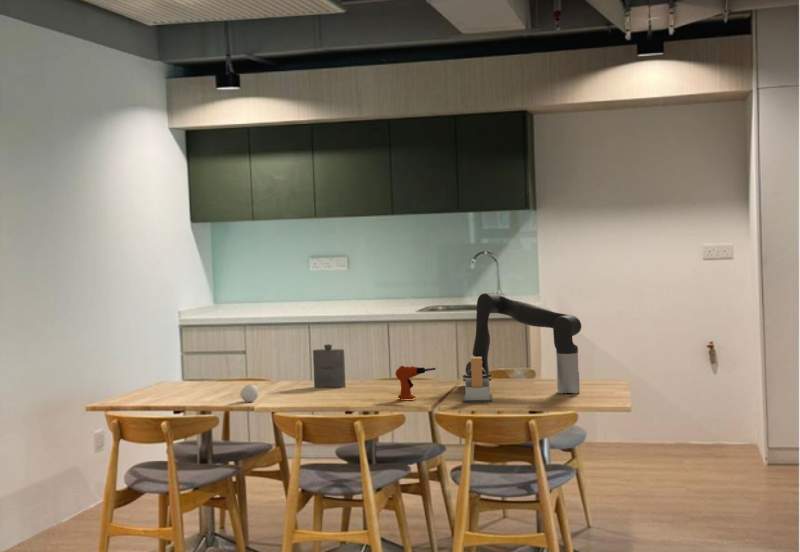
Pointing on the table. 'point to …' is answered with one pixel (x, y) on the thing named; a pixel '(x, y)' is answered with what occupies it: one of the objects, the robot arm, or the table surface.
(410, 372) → the toy drill
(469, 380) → the block
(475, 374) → the orange block
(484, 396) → the vise
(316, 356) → the flask
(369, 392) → the table surface
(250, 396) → the gray round stone
